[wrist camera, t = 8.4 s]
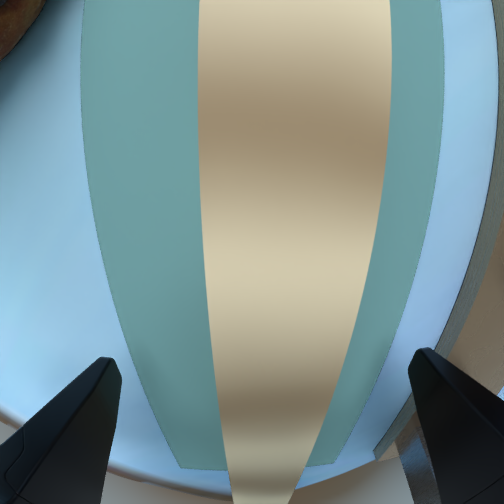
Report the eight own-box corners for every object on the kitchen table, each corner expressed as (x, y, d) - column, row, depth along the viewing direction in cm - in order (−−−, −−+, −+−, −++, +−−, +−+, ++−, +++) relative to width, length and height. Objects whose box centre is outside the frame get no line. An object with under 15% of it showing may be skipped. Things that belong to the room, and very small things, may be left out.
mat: (425, -47, 4) (431, -50, 4) (332, 458, 16) (333, 463, 16) (101, -61, 4) (96, -65, 4) (181, 463, 16) (180, 468, 16)
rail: (221, -78, 4) (212, -139, 1) (332, -70, 4) (367, -123, 2) (234, 468, 15) (234, 508, 13) (282, 466, 16) (286, 506, 13)
